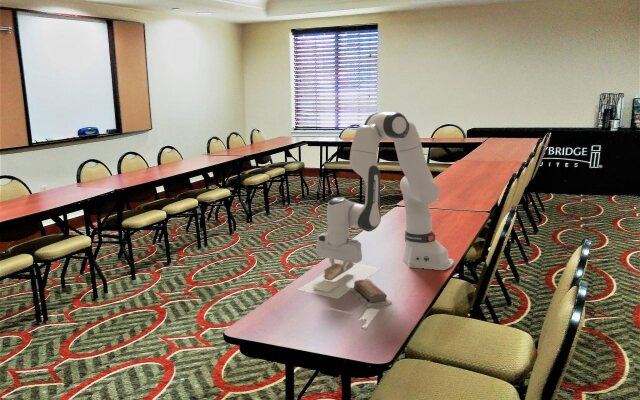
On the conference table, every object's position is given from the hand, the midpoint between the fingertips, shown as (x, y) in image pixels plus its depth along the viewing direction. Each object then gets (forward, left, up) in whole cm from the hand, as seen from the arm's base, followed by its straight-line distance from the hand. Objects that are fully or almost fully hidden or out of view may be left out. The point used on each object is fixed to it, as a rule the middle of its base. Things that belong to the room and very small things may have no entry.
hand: (339, 269), depth 216 cm
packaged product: (-19, +10, -5) cm, 22 cm away
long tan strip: (0, 0, -2) cm, 2 cm away
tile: (0, +6, -4) cm, 7 cm away
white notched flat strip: (-26, +27, -5) cm, 38 cm away
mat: (0, -1, -5) cm, 5 cm away
